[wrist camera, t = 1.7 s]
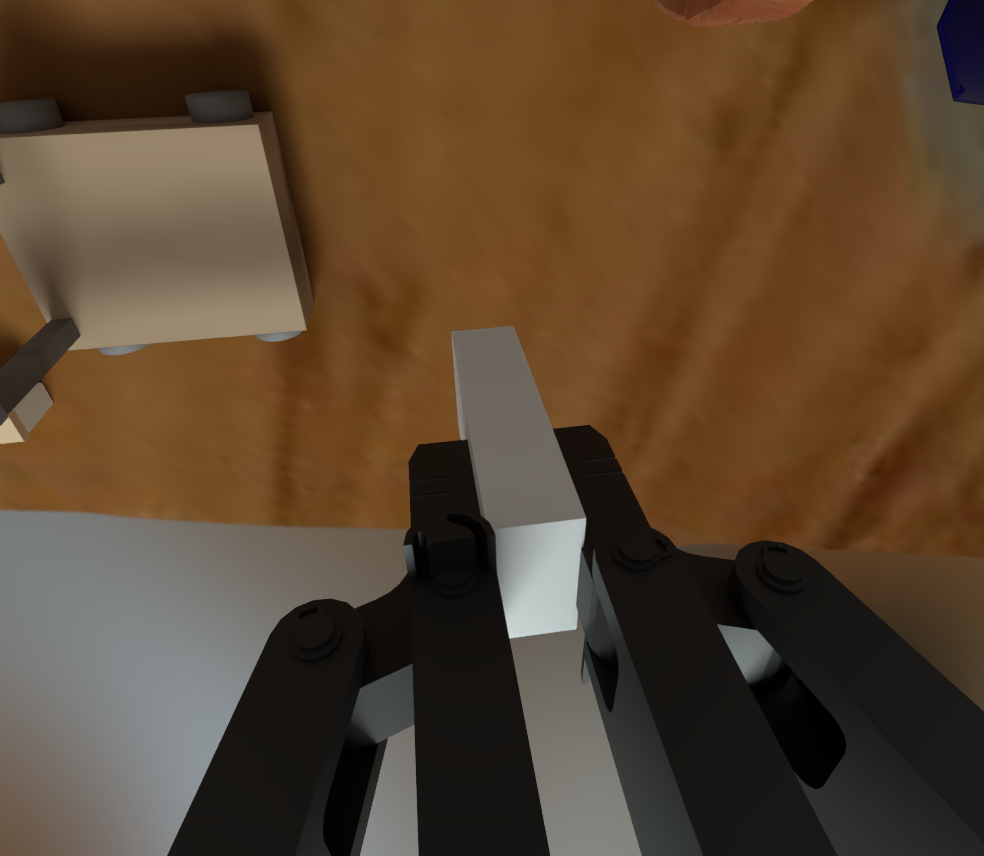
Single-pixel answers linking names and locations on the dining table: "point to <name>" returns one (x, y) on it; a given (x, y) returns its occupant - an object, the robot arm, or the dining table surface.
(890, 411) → the dining table surface
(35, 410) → the bay
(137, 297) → the trolley
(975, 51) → the bottle
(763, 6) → the mug
